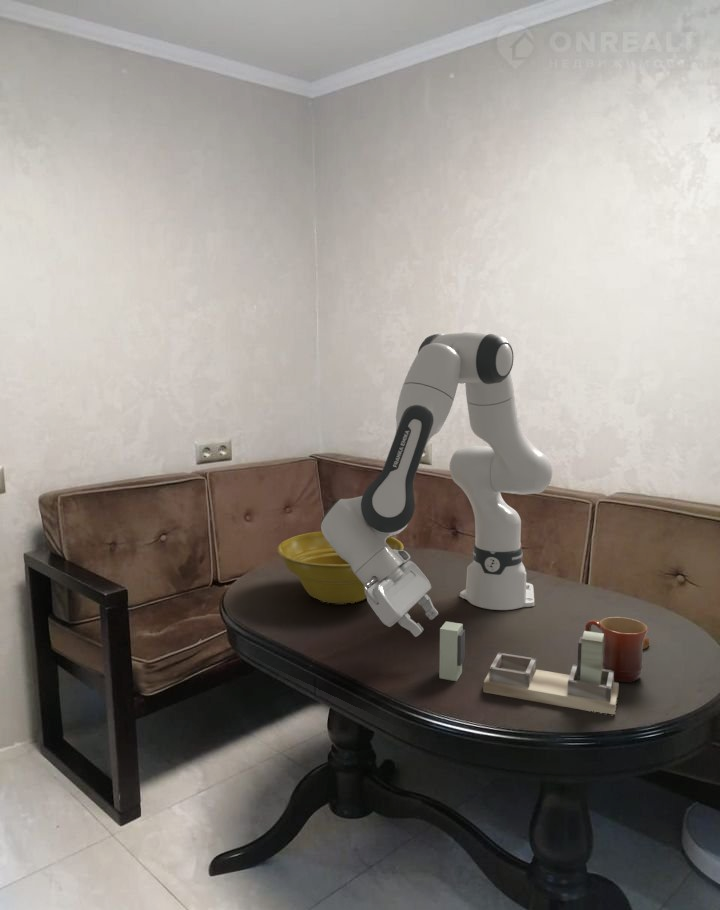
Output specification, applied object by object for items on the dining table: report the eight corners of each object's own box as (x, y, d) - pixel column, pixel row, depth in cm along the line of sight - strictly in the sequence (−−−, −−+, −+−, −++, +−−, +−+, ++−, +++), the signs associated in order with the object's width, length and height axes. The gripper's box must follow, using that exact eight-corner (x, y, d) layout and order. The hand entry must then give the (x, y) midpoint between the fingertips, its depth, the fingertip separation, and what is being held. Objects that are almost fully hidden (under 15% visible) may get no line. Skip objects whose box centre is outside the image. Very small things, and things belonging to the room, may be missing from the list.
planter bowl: (371, 627, 165) (371, 570, 164) (253, 606, 179) (252, 553, 177) (421, 585, 194) (421, 537, 192) (316, 570, 208) (316, 525, 206)
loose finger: (445, 669, 143) (445, 621, 142) (465, 673, 142) (465, 624, 140) (439, 678, 139) (440, 628, 138) (459, 681, 138) (460, 631, 136)
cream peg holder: (494, 672, 142) (495, 613, 140) (618, 693, 133) (621, 630, 131) (483, 692, 134) (484, 630, 132) (614, 715, 125) (618, 649, 123)
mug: (653, 675, 140) (655, 625, 139) (632, 690, 134) (635, 637, 132) (595, 657, 148) (597, 609, 147) (573, 670, 142) (575, 620, 141)
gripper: (371, 576, 133) (422, 634, 130) (408, 548, 151) (453, 599, 149) (349, 596, 135) (398, 654, 133) (388, 566, 154) (432, 617, 151)
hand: (427, 625), depth 141 cm, fingers open, 8 cm apart
